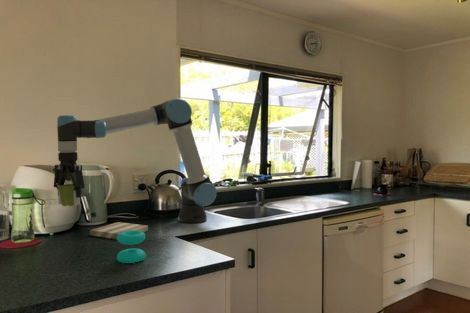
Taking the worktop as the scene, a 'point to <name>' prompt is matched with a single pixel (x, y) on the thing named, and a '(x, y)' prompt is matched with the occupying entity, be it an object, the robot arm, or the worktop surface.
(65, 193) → the plant pot
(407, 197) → the worktop surface
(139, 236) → the donuts
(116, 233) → the striped wooden cutting board
